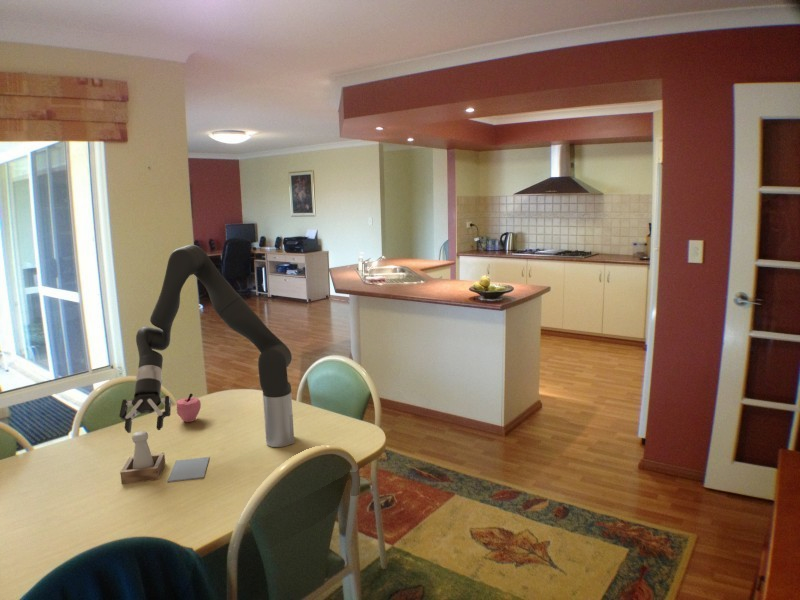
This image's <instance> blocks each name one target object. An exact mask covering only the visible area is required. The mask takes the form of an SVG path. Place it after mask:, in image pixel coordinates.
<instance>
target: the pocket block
mask: <svg viewBox="0 0 800 600" xmlns="http://www.w3.org/2000/svg"><path fill="white" fill-rule="evenodd" d="M151 455H152V459H153V462H154V467H149V468H140V469H133V460H134V455H133V456H129V457H128V458H127V460H126V462H125V464H124V466H123V467H122V469H121V471H120V472H119V473H120V475H119V476H120V481H121V484H131V483H139V482H148V481H156V480H160V478H161V475H162V472H163V470H164V467H165V466H166V458H165V455H166V454H165V453H164V452H163V453H154V454H152V453H151Z"/></svg>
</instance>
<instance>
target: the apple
mask: <svg viewBox="0 0 800 600" xmlns="http://www.w3.org/2000/svg"><path fill="white" fill-rule="evenodd" d="M201 406H202V405H201V400H200V399H199V398H198V397H193V393H190V394H189V395H188V397H184V398H181V399H179V400H176V414H177V415H178V416H179V417H180V418H181V420H182V422H186V423H191V422H193V421H195V420H196V419H197V417H198V415H199V413H200V410H201Z"/></svg>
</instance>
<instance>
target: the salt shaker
mask: <svg viewBox="0 0 800 600" xmlns="http://www.w3.org/2000/svg"><path fill="white" fill-rule="evenodd" d="M148 439H149V433H148V432H147V431H145V430H139V431H136V432H134V433H133V434H132V435H131V440H132V442H133V443H134V452H133V456H134V460H133V469H140V468H149V467H154V462H153V459H152V452H151V450H150V446H149V444H148Z"/></svg>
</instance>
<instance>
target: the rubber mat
mask: <svg viewBox="0 0 800 600" xmlns="http://www.w3.org/2000/svg"><path fill="white" fill-rule="evenodd" d="M209 461H210V456H206V457H196V458H195V457H194V458H187V459H178V460H175V461H174V465H173V467H172V468H171V472H170V473H169V475H168V478H167V483H174V482H182V481H189V480H190V481H191V480H198V479H204V478H205V475H206V472H207V468H208V466H209V465H208V464H209Z"/></svg>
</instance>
